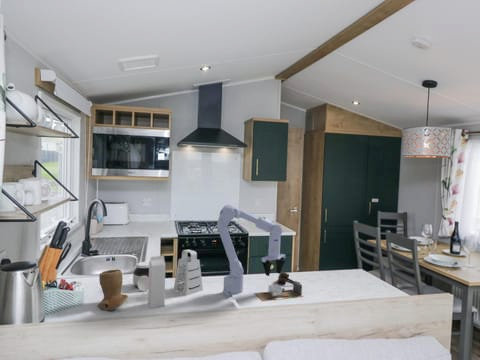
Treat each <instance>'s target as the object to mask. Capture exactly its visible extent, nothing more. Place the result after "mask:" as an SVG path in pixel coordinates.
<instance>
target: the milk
mask: <svg viewBox="0 0 480 360" xmlns="http://www.w3.org/2000/svg"><path fill="white" fill-rule="evenodd" d="M148 262H149V288H148V290H147V291H148V293H147V296H148V297H147V304H148V305H149V307H150V308H151V309H154V308H160V307H161V308H162V307H165V299H166V298H165V297H166V296H165V295H166V260H165V256H164V255H156V256H155V255H154V256H150V261H148Z"/></svg>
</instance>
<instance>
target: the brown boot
mask: <svg viewBox="0 0 480 360" xmlns="http://www.w3.org/2000/svg"><path fill="white" fill-rule="evenodd" d="M98 280H99V285H100V288H101V291H102V293H103V298H102V300H101V301H99V303H98V304H97V307H98V308H100V309H102V310H104V311H108V312H109V311H114V310H117V309H118V308H119V307H120V306H122V305H123V304H124V303H125V302H126V301H127V299H128V298H129V295H127V294H124V293H121V291H122V286H123V282H124V281H123V273H122V271H121V269H118V268H117V269H107V270H104V271H102V272H100V273H99V279H98Z"/></svg>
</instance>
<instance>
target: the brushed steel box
mask: <svg viewBox="0 0 480 360" xmlns="http://www.w3.org/2000/svg"><path fill="white" fill-rule="evenodd" d="M284 290H286V289H285V287H282V286H280V285H279V284H271V285H270V284H269V285H268V290H267V292H268V294H270V295H271V296H272V297H276V296H282V291H284Z"/></svg>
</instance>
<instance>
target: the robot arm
mask: <svg viewBox="0 0 480 360" xmlns="http://www.w3.org/2000/svg"><path fill="white" fill-rule="evenodd" d="M233 219H244V220H245V221H248V222H251V223H252V224H255V227H256V228H257V229H260V230H262V231H264V232H266V233H269V236H268V237H269V238H268V253H267V254H268V255H265V256H263V257H261V264H262V266H263V268H264V273H265V276H267V277H270V274H271V267H272V262H271V261H275V263H276V264H275V265H276V269H275V270H276V273H277V274H278V275H279V274H280V273H281V272H282V269H283V266H284V265H285V263H286V254H284V253H281V235H282V234H283V230H282V227H281V225H279V224H278V223H276V222H275V221H274V220H272V221H271V220H270V219H267V217H266V216H258V217H256V216H255V215H254V214H251V213H249V212H247V211H244V210H243V209H241V208H239V207H235V206H232V205H231V204H229V205H228V204H227V205H224V206H223V207H222V209H221V210H220V212H219V215H218V219H217V223H216V226H217V230H218V233H219V236H220V239H221V242H222V244H223V248H224V250H225V254H226V257H227V258H228V261H229V262H228V263H229V269H230V270H229V271H230V272H229V273H228V275H226V276H224V277H223V289H222V292H223V293H224V294H225V296H226V297H227V298H231V297H233V294H234V295H239V294H242V293H243V292H244V267H243V265H242V262H241V261H240V260H239V259H238V255H237V253H236V250H235V247H234V244H233V241H232V238H231V236H230V232H229V230H228V229H229V228H228V226H229V224H230V222H231V221H233Z"/></svg>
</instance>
